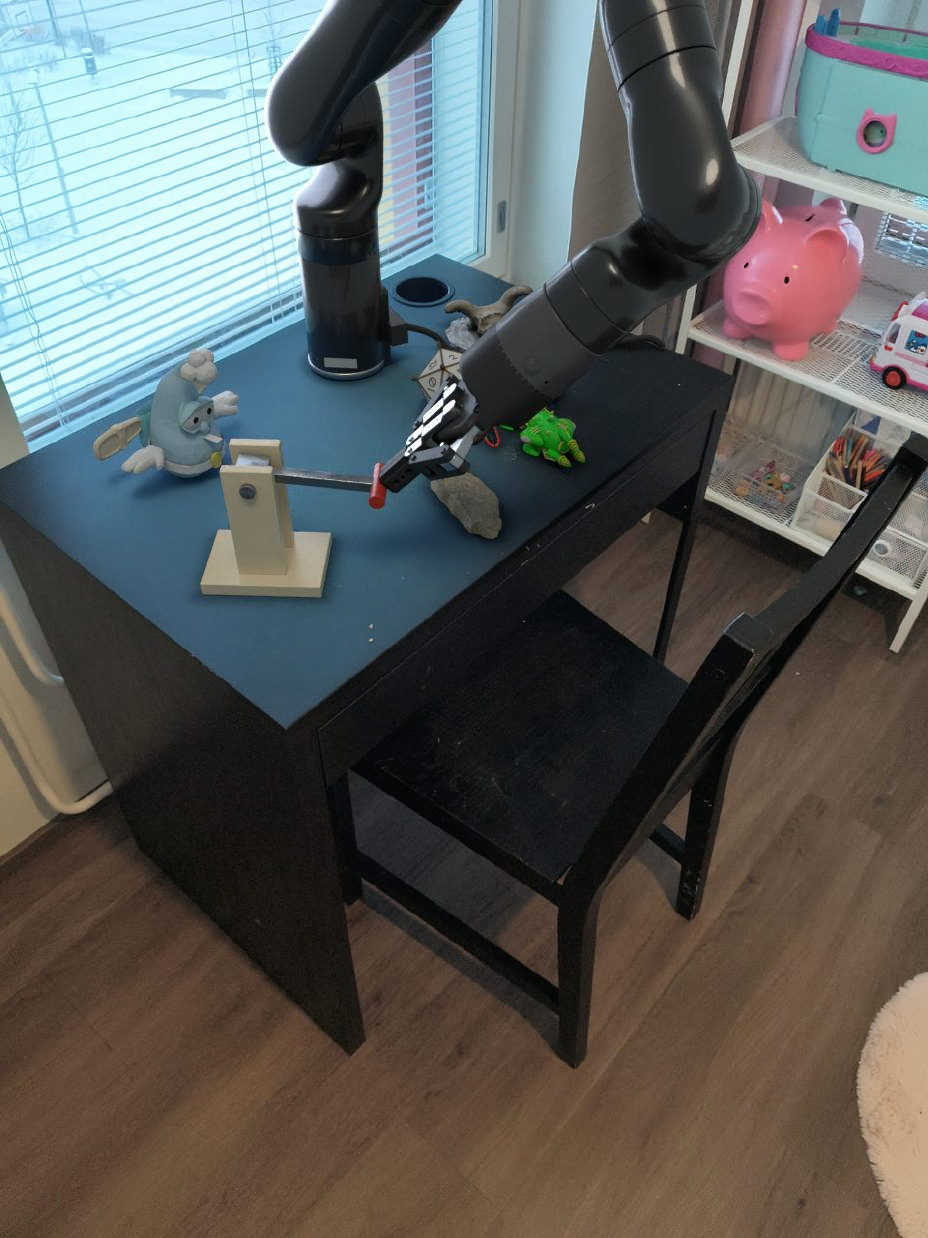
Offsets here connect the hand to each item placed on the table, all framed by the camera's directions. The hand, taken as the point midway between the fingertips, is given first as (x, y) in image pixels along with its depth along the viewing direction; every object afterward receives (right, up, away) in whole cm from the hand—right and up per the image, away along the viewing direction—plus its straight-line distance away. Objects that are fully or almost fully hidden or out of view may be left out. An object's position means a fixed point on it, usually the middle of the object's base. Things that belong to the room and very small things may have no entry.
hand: (386, 482), depth 87 cm
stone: (+5, 0, +13) cm, 14 cm away
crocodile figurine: (+15, +9, +24) cm, 30 cm away
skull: (+9, +23, +40) cm, 47 cm away
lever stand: (-12, -7, +7) cm, 16 cm away
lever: (-7, 0, +1) cm, 7 cm away
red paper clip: (+9, +12, +27) cm, 31 cm away
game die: (+5, +11, +27) cm, 30 cm away
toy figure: (-22, +4, +19) cm, 29 cm away
